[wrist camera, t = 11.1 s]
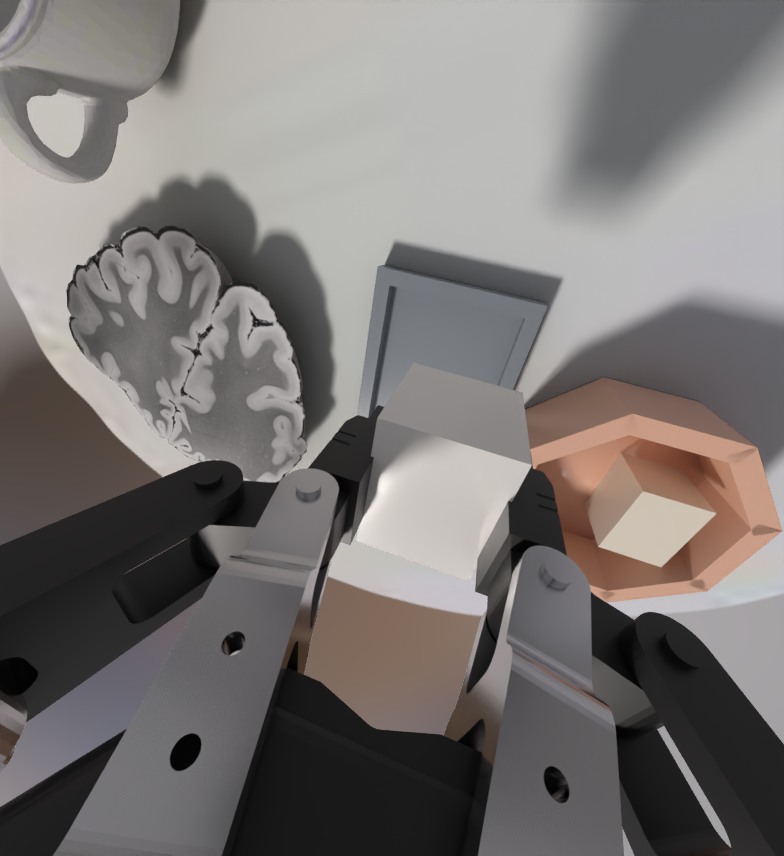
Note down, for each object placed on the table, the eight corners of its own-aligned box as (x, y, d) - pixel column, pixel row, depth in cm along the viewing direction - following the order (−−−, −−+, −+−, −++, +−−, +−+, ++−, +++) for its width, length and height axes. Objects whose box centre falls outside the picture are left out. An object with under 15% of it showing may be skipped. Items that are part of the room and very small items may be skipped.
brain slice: (380, 364, 22) (365, 380, 19) (277, 489, 31) (258, 511, 28) (130, 145, 19) (75, 131, 17) (99, 351, 29) (61, 362, 26)
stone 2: (620, 452, 19) (643, 491, 16) (681, 469, 19) (716, 513, 16) (584, 504, 22) (598, 546, 19) (638, 521, 21) (661, 567, 18)
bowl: (540, 360, 19) (551, 391, 15) (773, 420, 17) (854, 473, 13) (474, 506, 25) (470, 554, 21) (639, 561, 23) (666, 624, 19)
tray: (384, 264, 18) (377, 266, 17) (544, 302, 17) (547, 306, 16) (355, 457, 26) (350, 465, 25) (466, 493, 25) (464, 503, 24)
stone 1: (413, 362, 10) (377, 418, 7) (522, 392, 10) (532, 465, 7) (390, 467, 13) (355, 540, 10) (476, 495, 12) (468, 582, 9)
